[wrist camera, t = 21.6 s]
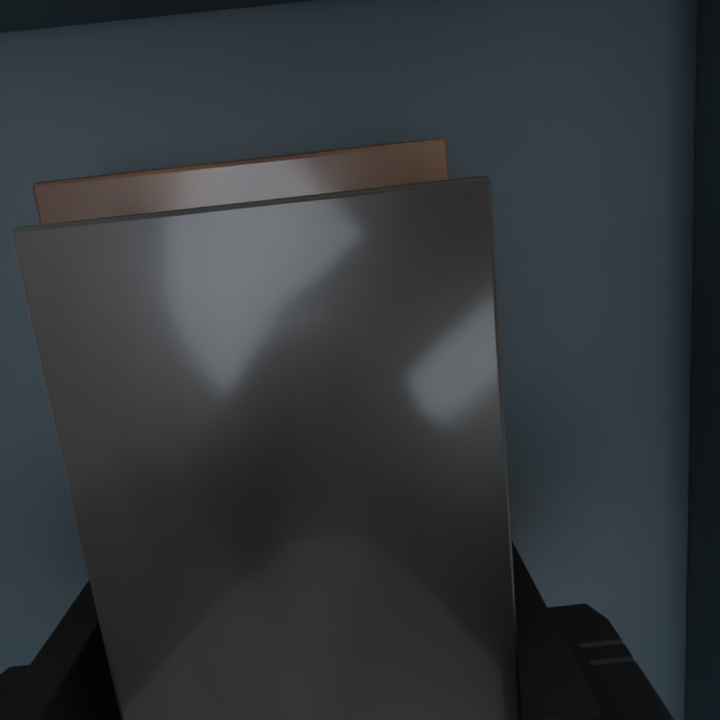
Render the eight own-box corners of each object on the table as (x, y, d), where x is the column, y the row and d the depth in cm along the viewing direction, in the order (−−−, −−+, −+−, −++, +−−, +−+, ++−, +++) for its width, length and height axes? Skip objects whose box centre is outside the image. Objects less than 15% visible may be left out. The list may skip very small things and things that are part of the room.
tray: (-226, 30, 13) (-425, -36, 10) (709, -67, 13) (837, -164, 10) (38, 960, 19) (-28, 1124, 15) (689, 889, 19) (765, 1038, 16)
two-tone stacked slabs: (427, 151, 13) (88, 188, 13) (487, 106, 8) (-93, 169, 8) (482, 848, 17) (223, 878, 17) (547, 1140, 12) (169, 1183, 12)
